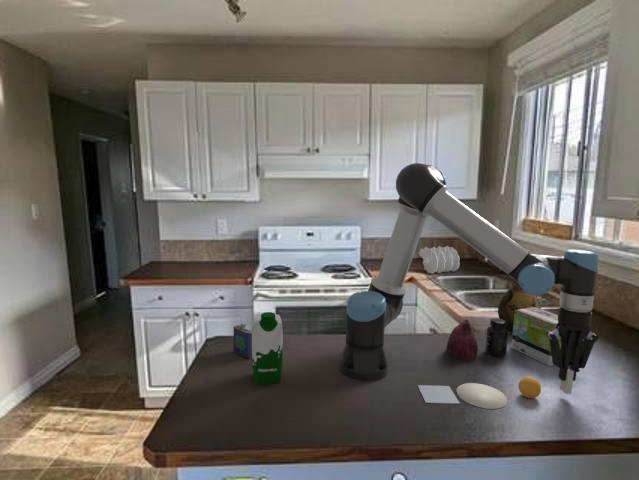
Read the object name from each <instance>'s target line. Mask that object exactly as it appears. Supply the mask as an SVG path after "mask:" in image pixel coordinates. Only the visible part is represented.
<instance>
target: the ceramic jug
mask: <svg viewBox="0 0 639 480" xmlns="http://www.w3.org/2000/svg"><path fill="white" fill-rule="evenodd" d="M530 307H536V308H539V309H542V306H541V302H540V299H539V297H538V296H535V295H530V294H528V293H526V292H525V291H524V290H523V289H522V288H521V287H520V285H519V283H518V282H517V281H515V283H513V285H511V287H509V289H507V291H506V292H505V293H504V294H503V296H502V297H501V299H500V301H499V304H498V307H497V309H498V310H497V314H498V319H503V320H505V321H506V327H505V328H506V329H507V330H508V334H511V335H512V334H513V325H514V315H515V310H519V309H525V308H530Z"/></svg>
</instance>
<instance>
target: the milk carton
mask: <svg viewBox="0 0 639 480" xmlns="http://www.w3.org/2000/svg"><path fill="white" fill-rule="evenodd" d="M252 319H253V320H252V324H251V325H252V326H251V331H252V359H251V363H252V371H253V376H254V380H255V382H254V383H255V385H257V386H258V385H266V384H267V385H268V384H279V383H281V378H282V371H283V355H284V354H283V349H284V348H283V347H284V345H283V343H284V342H283V339H284V338H283V337H284V335H283V334H284V333H283V328H284V327H283V322H282V318H281V316H280V314H276V313H275V312H271V311H267V312H262V313H261V314H259V315H258V314H257V315H253V317H252Z"/></svg>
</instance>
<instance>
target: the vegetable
mask: <svg viewBox="0 0 639 480" xmlns="http://www.w3.org/2000/svg"><path fill="white" fill-rule="evenodd" d="M471 326H472V325H471V322H470V321H469V319H468V318H466V319H464V320H462V322H460V323H459V324H457V325H456V326H455V327H454V328H453V329H452V330H451V333H450V335H449V337H448V340H447V343H446V349H445V350H446V351H445V354H446V355H447V356H448V357H450V358H453V359H455V360H460V361H464V362H465V361H466V362H467V361H470V362H471V361H474V360H476V359H477V358H478V354H479V353H478V349H479V348H478V347H479V346H478V341H477V338H476V336H475V334H474V332H473V330H472V327H471Z"/></svg>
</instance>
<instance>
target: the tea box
mask: <svg viewBox="0 0 639 480" xmlns="http://www.w3.org/2000/svg"><path fill="white" fill-rule="evenodd" d="M557 324H558V314H555V313H553V312H550V311H547V310H544V309H542V308H541V309H539V308H536V307H530V308H525V309H519V310H515V315H514V325H513V334H511V336H512V337H511V346H510V347H511V349H513V350H515V351H518V352H520V353H522V354H524V355H526V356H528V357H530V358H532V359H534V360H536V361H537V362H539V363H542V364H544V365H545V366H553V365H554V364H553V362H552V355H551V348H550V340H549V338H548V336H547V334H546V332H547V331H550V332H552V331H553V330H555V329H556V326H557ZM558 336H559V339H558V341H559V346H560V350H561V341H560V340H561V337H560V335H559V334H558ZM554 366H555V365H554Z"/></svg>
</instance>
